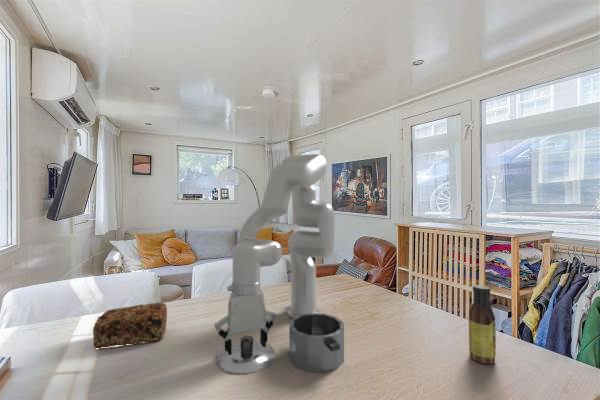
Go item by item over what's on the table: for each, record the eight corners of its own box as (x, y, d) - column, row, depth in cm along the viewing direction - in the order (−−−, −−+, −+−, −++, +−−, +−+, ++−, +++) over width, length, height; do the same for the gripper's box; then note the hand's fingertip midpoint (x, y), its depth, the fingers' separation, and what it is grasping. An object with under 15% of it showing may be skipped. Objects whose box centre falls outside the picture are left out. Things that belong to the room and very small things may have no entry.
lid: (211, 350, 84) (211, 332, 84) (263, 338, 91) (263, 321, 91) (224, 382, 70) (225, 360, 70) (284, 364, 77) (284, 345, 77)
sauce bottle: (500, 366, 76) (500, 291, 75) (473, 364, 77) (474, 290, 77) (489, 353, 82) (489, 284, 82) (465, 351, 83) (465, 282, 83)
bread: (167, 327, 98) (167, 298, 98) (162, 343, 88) (161, 310, 88) (105, 335, 93) (104, 304, 93) (91, 352, 83) (91, 318, 83)
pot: (279, 344, 87) (279, 315, 87) (322, 334, 93) (322, 307, 93) (308, 385, 68) (308, 347, 68) (360, 369, 74) (360, 334, 74)
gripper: (216, 296, 73) (216, 363, 73) (280, 287, 80) (280, 348, 81) (212, 288, 80) (212, 349, 80) (271, 280, 87) (271, 336, 87)
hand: (246, 348), depth 80 cm, fingers open, 9 cm apart
